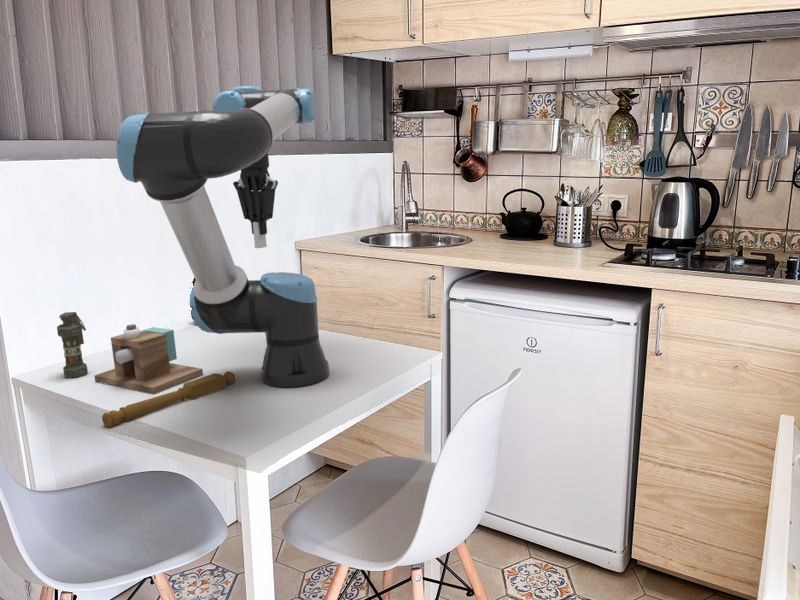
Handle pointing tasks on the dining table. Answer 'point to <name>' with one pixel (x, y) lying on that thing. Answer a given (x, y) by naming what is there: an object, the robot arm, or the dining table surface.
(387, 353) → the dining table surface
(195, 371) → the mount
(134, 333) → the dial
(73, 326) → the grenade
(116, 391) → the dining table surface
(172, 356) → the teal piece
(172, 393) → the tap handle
